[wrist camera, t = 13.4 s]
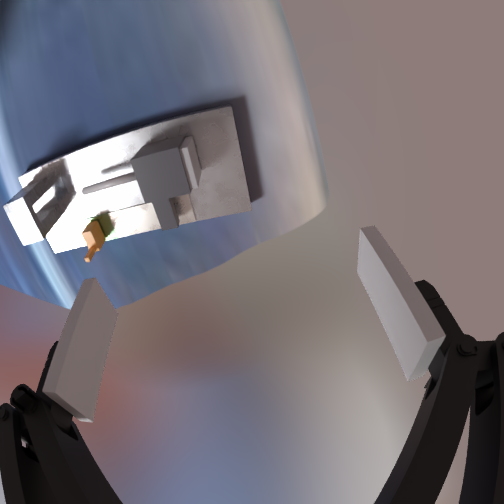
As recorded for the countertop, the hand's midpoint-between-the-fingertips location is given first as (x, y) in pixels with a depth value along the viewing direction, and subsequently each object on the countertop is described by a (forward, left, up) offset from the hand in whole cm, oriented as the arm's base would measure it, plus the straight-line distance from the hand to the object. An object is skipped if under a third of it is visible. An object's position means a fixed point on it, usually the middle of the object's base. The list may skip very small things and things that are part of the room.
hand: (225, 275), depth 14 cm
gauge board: (-14, -2, -24) cm, 28 cm away
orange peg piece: (-19, -7, -21) cm, 29 cm away
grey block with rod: (-10, -3, -22) cm, 24 cm away
